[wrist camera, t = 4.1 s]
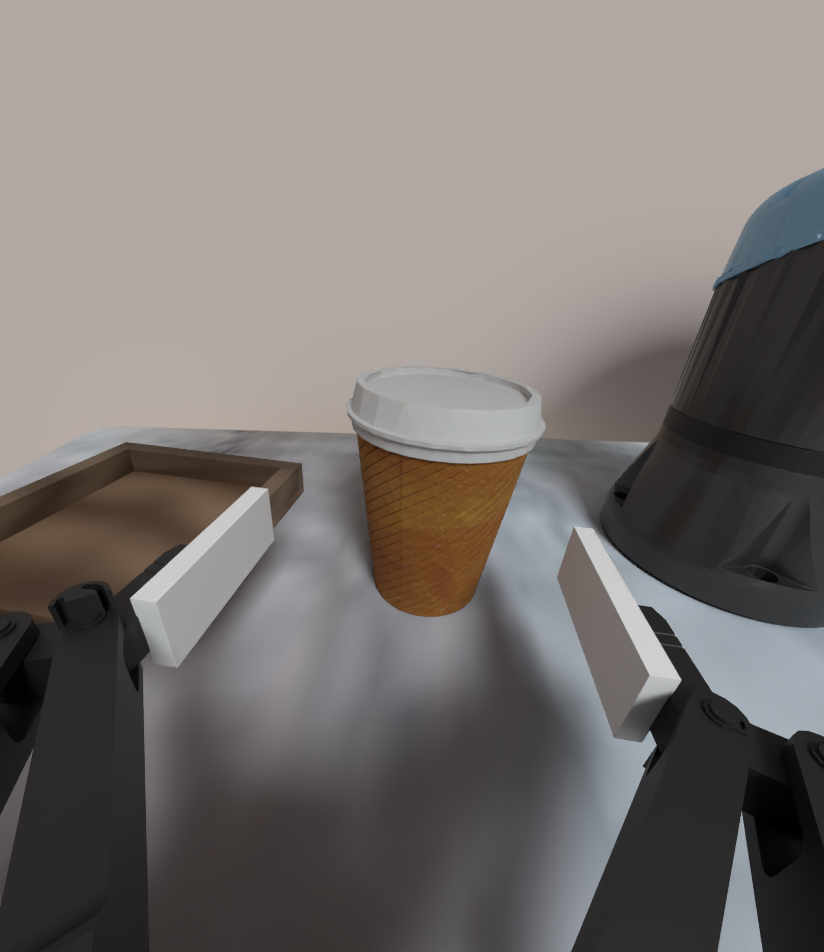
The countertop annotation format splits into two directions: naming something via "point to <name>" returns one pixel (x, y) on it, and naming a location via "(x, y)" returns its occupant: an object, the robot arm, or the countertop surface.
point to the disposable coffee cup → (438, 476)
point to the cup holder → (121, 516)
